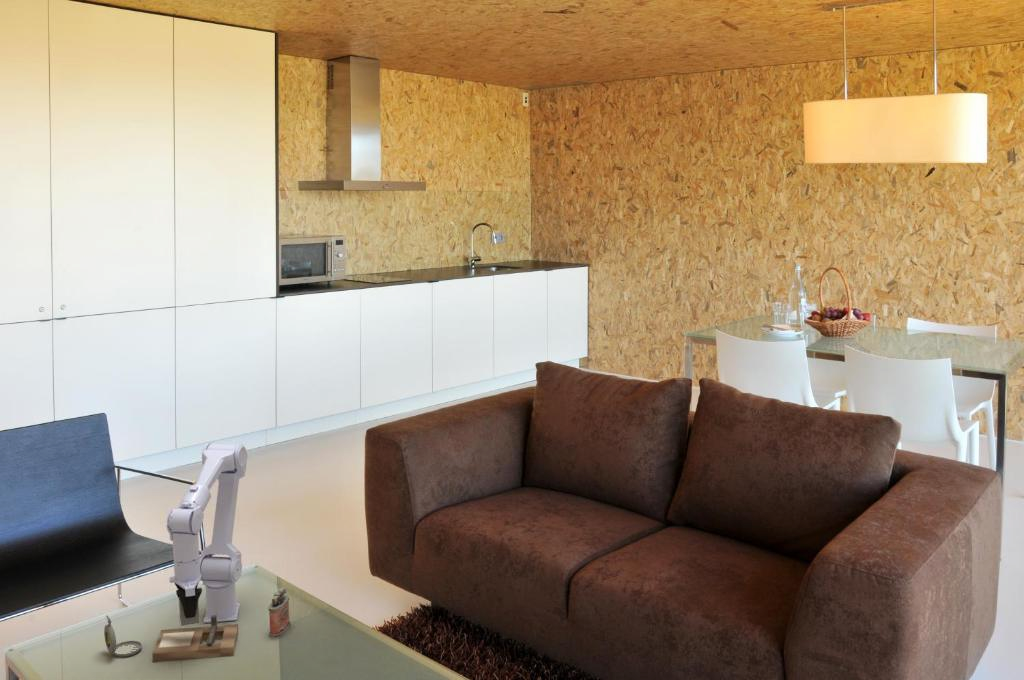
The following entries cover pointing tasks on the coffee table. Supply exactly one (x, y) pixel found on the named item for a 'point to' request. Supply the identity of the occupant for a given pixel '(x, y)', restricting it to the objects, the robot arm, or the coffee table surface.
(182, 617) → the gray rectangular block
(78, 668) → the coffee table surface
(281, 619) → the lighter
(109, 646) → the pocket watch
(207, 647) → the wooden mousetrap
